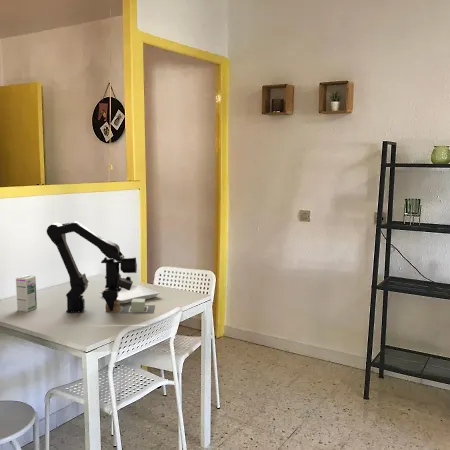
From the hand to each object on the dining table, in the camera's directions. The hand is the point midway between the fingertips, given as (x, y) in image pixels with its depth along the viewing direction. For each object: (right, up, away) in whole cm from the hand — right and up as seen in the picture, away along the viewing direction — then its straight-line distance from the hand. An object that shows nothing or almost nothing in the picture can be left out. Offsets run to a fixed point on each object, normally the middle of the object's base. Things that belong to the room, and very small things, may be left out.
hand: (112, 307), depth 211 cm
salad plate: (+3, +1, +20) cm, 21 cm away
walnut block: (0, -1, 0) cm, 1 cm away
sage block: (+11, -1, +1) cm, 11 cm away
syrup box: (-37, -1, -1) cm, 37 cm away
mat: (+11, -1, +1) cm, 11 cm away
